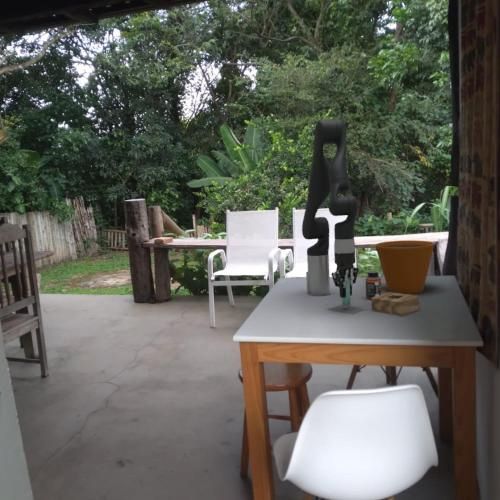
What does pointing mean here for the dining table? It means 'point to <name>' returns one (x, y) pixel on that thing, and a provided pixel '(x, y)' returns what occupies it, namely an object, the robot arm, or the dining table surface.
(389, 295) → the hole block
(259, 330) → the dining table surface
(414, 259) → the flower pot
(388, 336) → the dining table surface
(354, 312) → the mat
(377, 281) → the supplement bottle
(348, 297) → the peg
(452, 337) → the dining table surface
